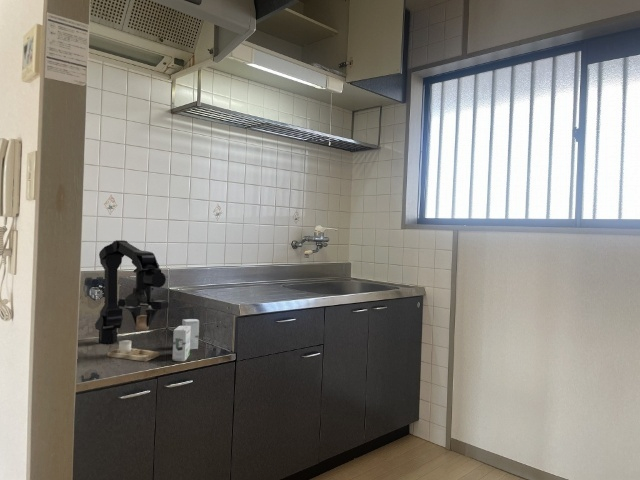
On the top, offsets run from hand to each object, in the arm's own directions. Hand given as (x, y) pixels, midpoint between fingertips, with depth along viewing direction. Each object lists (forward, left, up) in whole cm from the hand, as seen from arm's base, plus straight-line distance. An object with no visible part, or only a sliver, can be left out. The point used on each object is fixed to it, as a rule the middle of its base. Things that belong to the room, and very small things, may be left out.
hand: (142, 326), depth 187 cm
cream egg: (-5, -2, -11) cm, 13 cm away
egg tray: (-2, -2, -12) cm, 12 cm away
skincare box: (+10, +18, -12) cm, 24 cm away
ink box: (+14, +5, -12) cm, 19 cm away
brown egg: (0, 0, -1) cm, 1 cm away
